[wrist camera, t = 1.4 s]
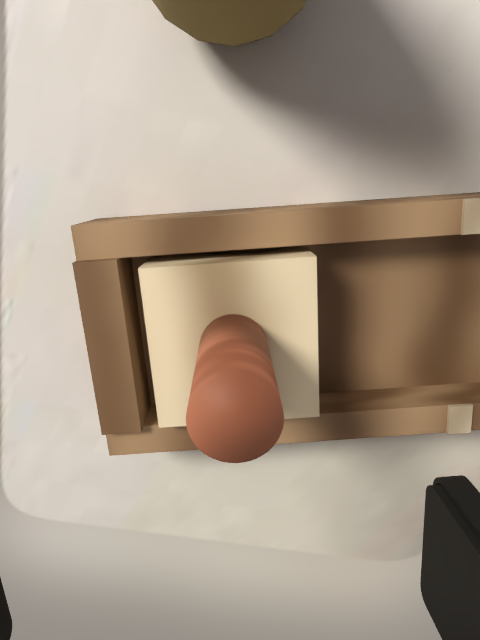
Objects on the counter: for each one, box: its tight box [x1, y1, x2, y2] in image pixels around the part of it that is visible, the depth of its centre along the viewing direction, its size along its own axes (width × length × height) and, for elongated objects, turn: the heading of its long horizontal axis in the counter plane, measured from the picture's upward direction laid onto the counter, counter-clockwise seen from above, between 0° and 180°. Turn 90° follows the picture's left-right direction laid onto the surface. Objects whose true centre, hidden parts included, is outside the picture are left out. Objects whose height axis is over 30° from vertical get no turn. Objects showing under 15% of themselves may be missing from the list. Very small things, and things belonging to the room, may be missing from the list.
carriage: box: [138, 247, 320, 463], centre depth 20 cm, size 8×8×10 cm
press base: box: [71, 192, 480, 455], centre depth 24 cm, size 26×12×6 cm, turn 94°
